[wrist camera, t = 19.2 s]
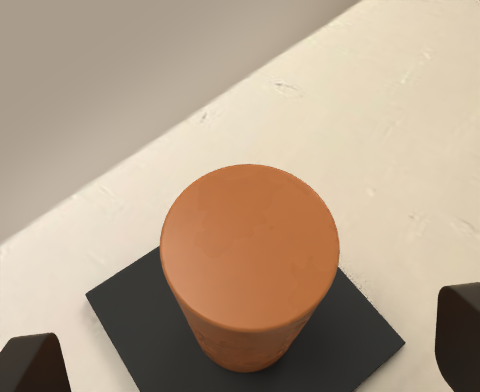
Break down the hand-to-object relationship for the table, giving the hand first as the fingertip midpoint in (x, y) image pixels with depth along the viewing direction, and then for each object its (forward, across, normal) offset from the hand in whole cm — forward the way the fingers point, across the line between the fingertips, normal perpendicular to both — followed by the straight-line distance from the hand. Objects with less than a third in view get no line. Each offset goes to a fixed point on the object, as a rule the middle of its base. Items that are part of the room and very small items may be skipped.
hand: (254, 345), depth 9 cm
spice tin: (+7, 0, +4) cm, 8 cm away
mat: (+7, 0, +4) cm, 8 cm away
